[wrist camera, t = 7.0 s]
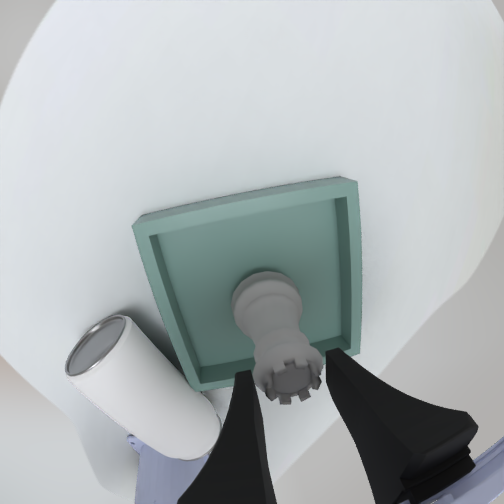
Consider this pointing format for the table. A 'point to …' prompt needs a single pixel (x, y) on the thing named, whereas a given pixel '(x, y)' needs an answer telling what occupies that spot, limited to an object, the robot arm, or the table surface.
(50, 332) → the table surface
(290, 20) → the table surface
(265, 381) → the rook chess piece
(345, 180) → the tray
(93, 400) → the can
